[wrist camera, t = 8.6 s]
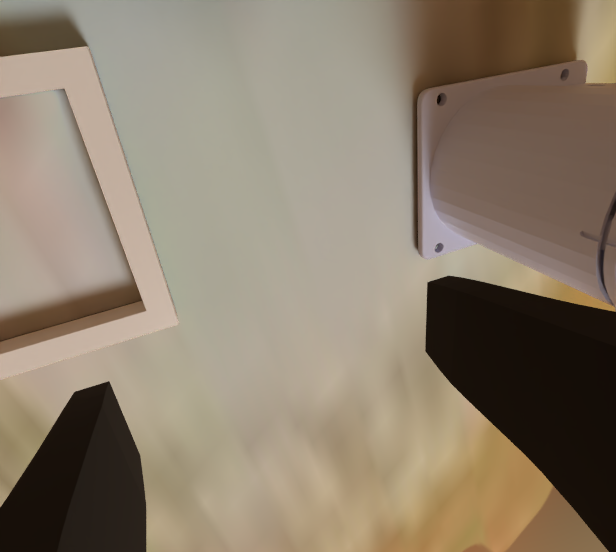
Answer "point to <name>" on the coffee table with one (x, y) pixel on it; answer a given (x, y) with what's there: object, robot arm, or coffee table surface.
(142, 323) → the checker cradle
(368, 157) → the coffee table surface
